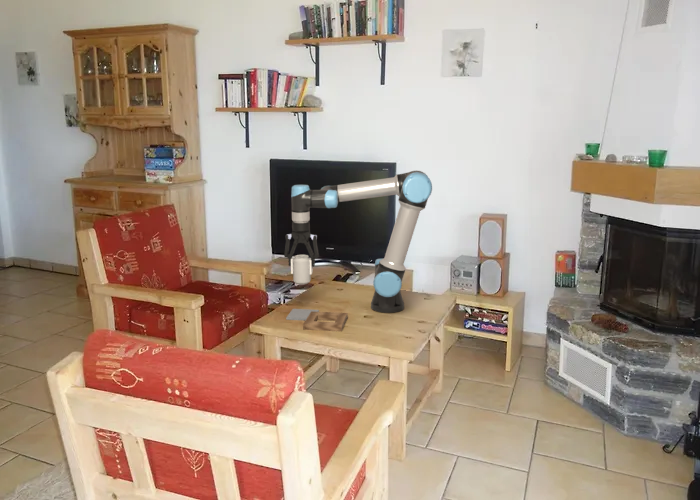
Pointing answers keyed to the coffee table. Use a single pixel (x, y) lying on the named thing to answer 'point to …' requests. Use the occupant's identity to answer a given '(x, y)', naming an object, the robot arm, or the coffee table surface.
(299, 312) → the plate
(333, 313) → the pocket block
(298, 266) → the can
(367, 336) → the coffee table surface
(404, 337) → the coffee table surface
